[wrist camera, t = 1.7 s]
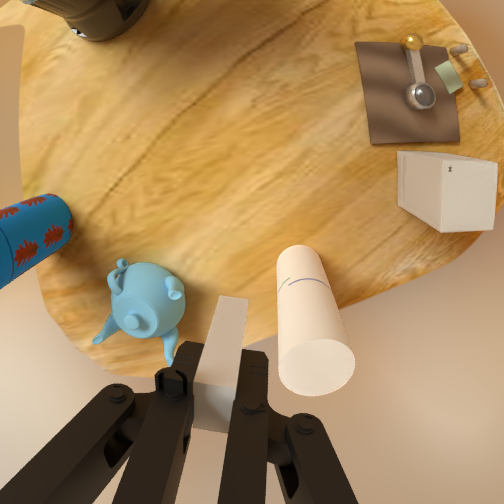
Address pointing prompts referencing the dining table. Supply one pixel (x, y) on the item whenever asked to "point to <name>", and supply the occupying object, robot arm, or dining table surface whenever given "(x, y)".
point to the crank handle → (416, 75)
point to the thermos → (31, 234)
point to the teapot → (145, 304)
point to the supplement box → (448, 190)
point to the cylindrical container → (310, 326)
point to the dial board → (392, 89)
